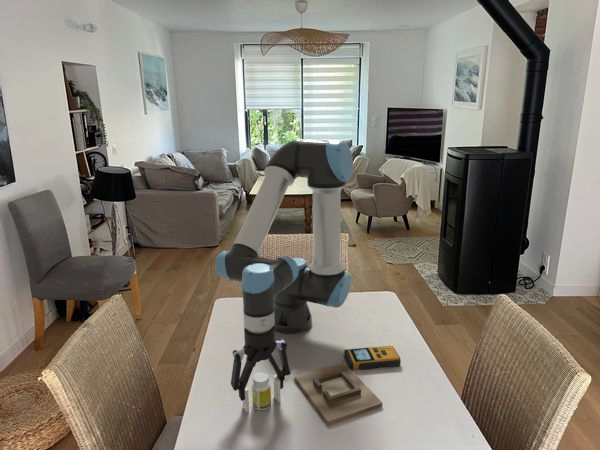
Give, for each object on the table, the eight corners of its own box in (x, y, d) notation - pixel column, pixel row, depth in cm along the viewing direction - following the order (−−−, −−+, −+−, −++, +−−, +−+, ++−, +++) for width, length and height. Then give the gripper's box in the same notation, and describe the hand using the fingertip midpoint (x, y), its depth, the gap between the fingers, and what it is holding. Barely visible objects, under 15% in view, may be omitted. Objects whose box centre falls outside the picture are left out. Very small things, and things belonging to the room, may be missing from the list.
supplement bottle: (273, 400, 116) (273, 373, 114) (266, 412, 112) (266, 384, 109) (257, 397, 118) (256, 370, 115) (249, 408, 113) (248, 380, 111)
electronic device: (401, 368, 131) (402, 358, 130) (350, 373, 128) (350, 363, 127) (391, 352, 139) (392, 343, 138) (343, 356, 136) (343, 347, 135)
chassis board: (294, 379, 125) (294, 371, 124) (343, 365, 131) (343, 357, 130) (327, 425, 107) (328, 416, 107) (382, 406, 114) (382, 397, 113)
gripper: (222, 343, 101) (227, 425, 107) (304, 324, 109) (304, 401, 116) (213, 328, 107) (219, 406, 114) (291, 311, 116) (292, 384, 122)
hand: (261, 403), depth 115 cm, fingers open, 8 cm apart
